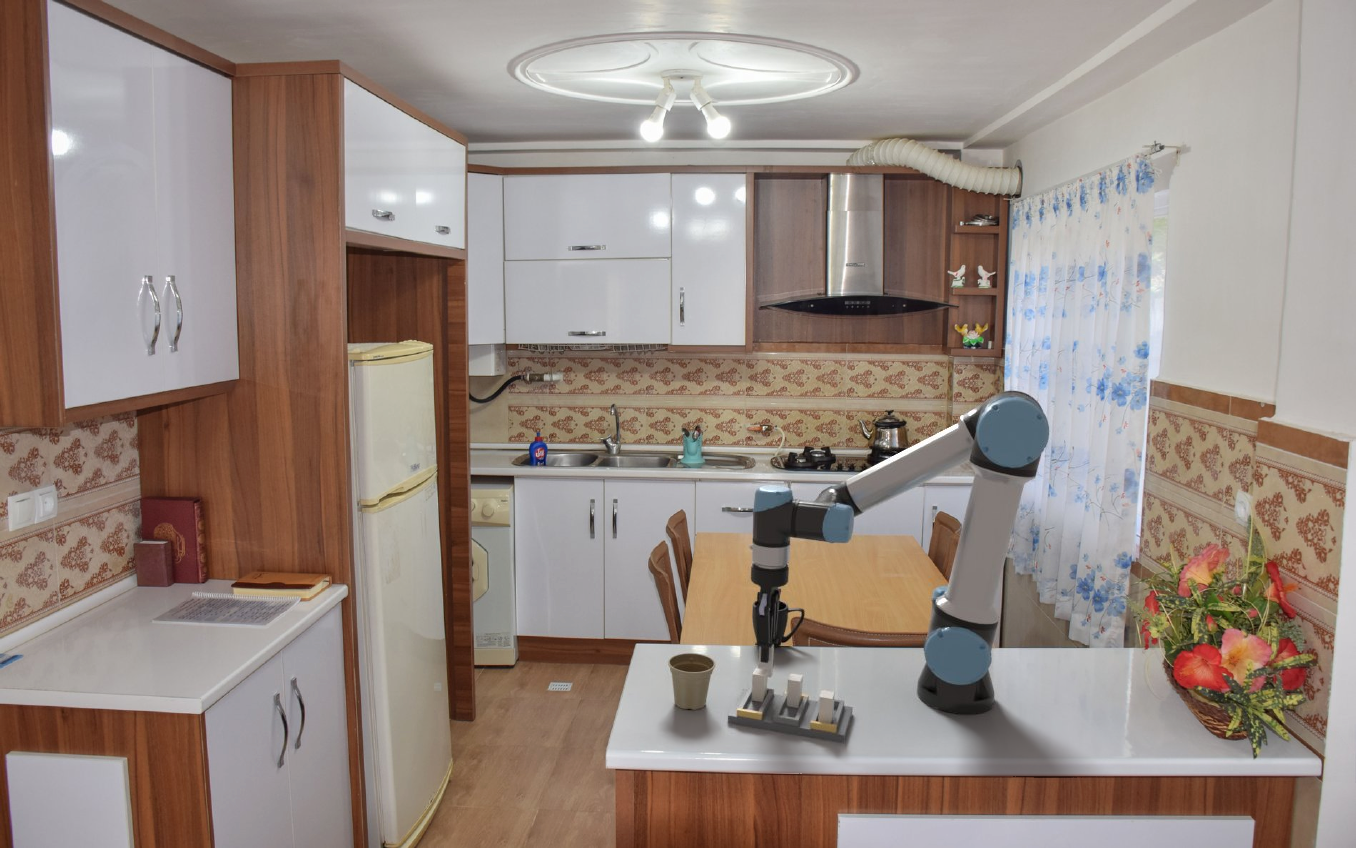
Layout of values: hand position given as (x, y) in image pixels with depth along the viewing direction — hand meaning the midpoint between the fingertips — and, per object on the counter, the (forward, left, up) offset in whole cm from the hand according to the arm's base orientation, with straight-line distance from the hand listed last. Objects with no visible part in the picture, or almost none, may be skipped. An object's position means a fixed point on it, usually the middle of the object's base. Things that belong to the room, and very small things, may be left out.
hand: (765, 674), depth 185 cm
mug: (+3, -26, -4) cm, 27 cm away
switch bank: (-7, +8, -4) cm, 12 cm away
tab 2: (-7, +6, -3) cm, 9 cm away
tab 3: (-14, +11, -3) cm, 18 cm away
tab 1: (0, +5, -3) cm, 6 cm away
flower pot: (+13, +9, -4) cm, 16 cm away
